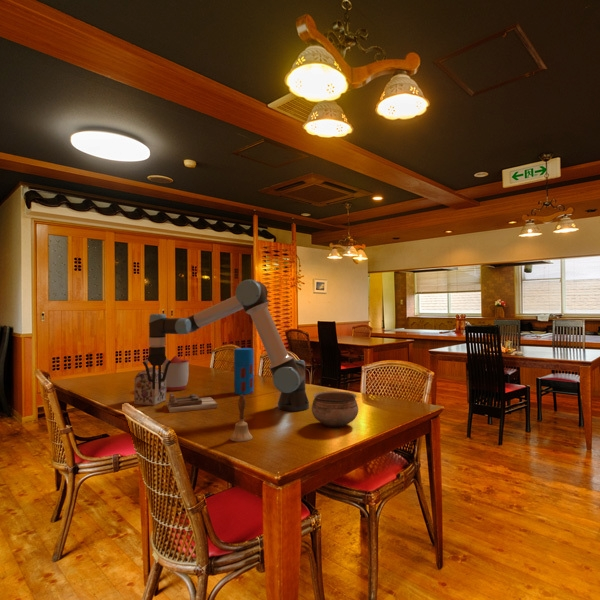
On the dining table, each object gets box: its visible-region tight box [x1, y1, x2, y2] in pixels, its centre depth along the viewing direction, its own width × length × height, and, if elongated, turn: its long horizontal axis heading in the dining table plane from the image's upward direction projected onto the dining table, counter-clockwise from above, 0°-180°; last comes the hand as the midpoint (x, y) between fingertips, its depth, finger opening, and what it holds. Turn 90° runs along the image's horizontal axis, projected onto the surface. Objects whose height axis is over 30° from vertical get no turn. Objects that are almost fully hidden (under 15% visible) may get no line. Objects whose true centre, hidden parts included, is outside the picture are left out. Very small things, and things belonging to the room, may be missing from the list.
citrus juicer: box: [161, 355, 190, 392], centre depth 239 cm, size 16×17×20 cm
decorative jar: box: [133, 366, 167, 406], centre depth 205 cm, size 12×12×18 cm
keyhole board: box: [166, 393, 218, 414], centre depth 195 cm, size 16×22×5 cm
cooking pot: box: [311, 390, 359, 429], centre depth 162 cm, size 25×19×12 cm
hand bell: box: [229, 395, 254, 443], centre depth 147 cm, size 8×8×16 cm
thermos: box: [233, 347, 254, 396], centre depth 227 cm, size 11×11×25 cm
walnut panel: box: [168, 392, 202, 407], centre depth 194 cm, size 12×14×4 cm
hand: (156, 395), depth 189 cm, fingers closed
